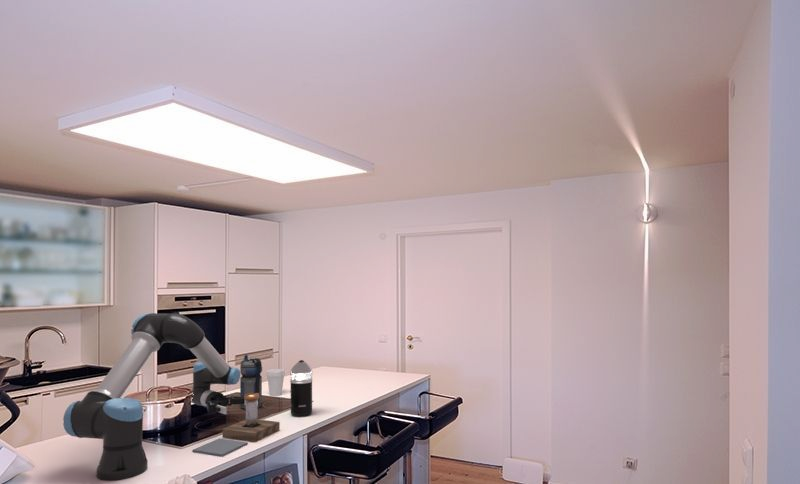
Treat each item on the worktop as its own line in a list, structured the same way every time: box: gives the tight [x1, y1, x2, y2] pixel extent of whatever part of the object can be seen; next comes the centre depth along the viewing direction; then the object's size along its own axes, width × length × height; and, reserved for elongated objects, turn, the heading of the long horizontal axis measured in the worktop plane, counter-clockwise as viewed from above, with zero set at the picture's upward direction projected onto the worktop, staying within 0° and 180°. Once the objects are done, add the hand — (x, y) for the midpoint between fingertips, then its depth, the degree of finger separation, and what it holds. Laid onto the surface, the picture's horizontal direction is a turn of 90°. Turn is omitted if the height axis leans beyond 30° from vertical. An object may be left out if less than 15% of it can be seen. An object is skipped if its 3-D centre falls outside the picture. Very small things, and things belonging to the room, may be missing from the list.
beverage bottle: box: [239, 354, 263, 410], centre depth 254 cm, size 10×13×25 cm
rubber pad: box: [192, 437, 249, 458], centre depth 195 cm, size 14×14×1 cm
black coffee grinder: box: [289, 359, 313, 418], centre depth 240 cm, size 10×10×25 cm
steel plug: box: [244, 393, 259, 428], centre depth 212 cm, size 6×6×16 cm
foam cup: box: [266, 368, 285, 397], centre depth 279 cm, size 10×9×13 cm
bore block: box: [222, 418, 281, 443], centre depth 211 cm, size 16×16×4 cm
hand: (240, 407), depth 217 cm, fingers open, 13 cm apart
